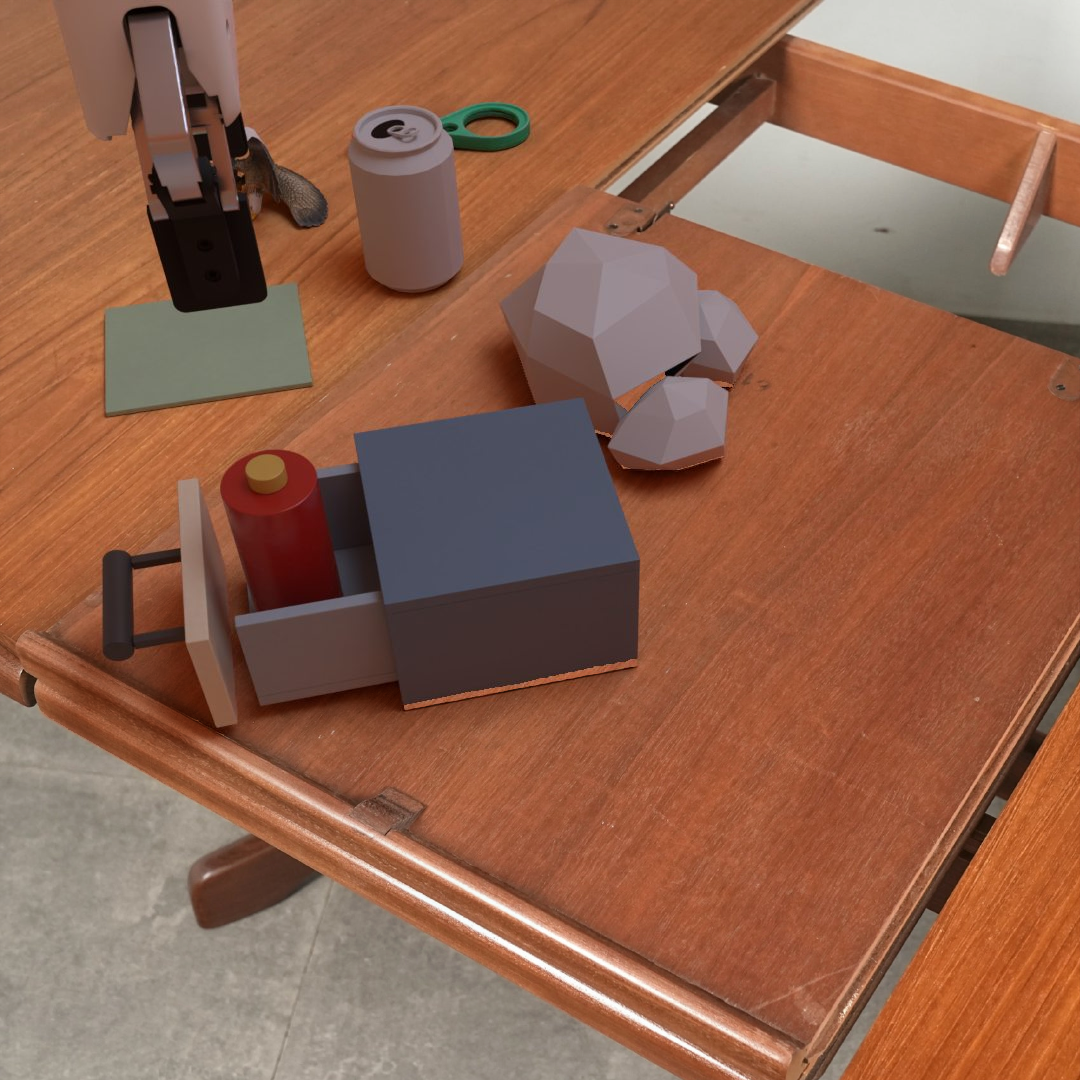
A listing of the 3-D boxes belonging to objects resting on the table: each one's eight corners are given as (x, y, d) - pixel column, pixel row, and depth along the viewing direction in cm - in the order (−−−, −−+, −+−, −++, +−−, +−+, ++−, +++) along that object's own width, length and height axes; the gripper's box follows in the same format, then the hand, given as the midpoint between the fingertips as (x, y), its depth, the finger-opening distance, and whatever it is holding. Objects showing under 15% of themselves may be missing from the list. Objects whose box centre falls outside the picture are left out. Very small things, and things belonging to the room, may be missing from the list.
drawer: (126, 745, 75) (87, 660, 69) (124, 581, 83) (89, 494, 77) (441, 686, 78) (428, 600, 72) (410, 533, 85) (396, 445, 80)
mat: (106, 417, 94) (105, 412, 94) (106, 313, 101) (104, 308, 101) (313, 386, 96) (312, 381, 96) (297, 286, 104) (296, 282, 103)
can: (411, 230, 109) (392, 87, 99) (484, 263, 106) (473, 118, 97) (346, 276, 104) (320, 131, 95) (421, 311, 102) (402, 165, 93)
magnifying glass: (520, 110, 121) (519, 91, 119) (538, 144, 117) (537, 126, 116) (348, 136, 118) (345, 118, 116) (362, 173, 114) (359, 154, 113)
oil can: (262, 655, 78) (218, 508, 69) (256, 591, 81) (212, 443, 72) (351, 639, 78) (318, 491, 70) (341, 576, 82) (309, 428, 73)
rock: (756, 312, 102) (767, 197, 94) (756, 501, 89) (769, 384, 81) (511, 302, 102) (503, 186, 95) (476, 487, 89) (464, 370, 82)
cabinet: (404, 711, 77) (384, 604, 71) (373, 542, 86) (353, 433, 79) (637, 667, 80) (640, 559, 73) (585, 506, 88) (583, 396, 81)
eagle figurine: (187, 212, 108) (274, 224, 104) (191, 116, 106) (279, 125, 102) (255, 219, 115) (340, 231, 111) (260, 130, 113) (346, 138, 109)
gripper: (-40, -385, 43) (110, 121, 56) (-88, -185, 32) (112, 387, 45) (203, -399, 44) (295, 99, 57) (237, -211, 33) (342, 353, 46)
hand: (215, 225), depth 51 cm, fingers open, 9 cm apart
